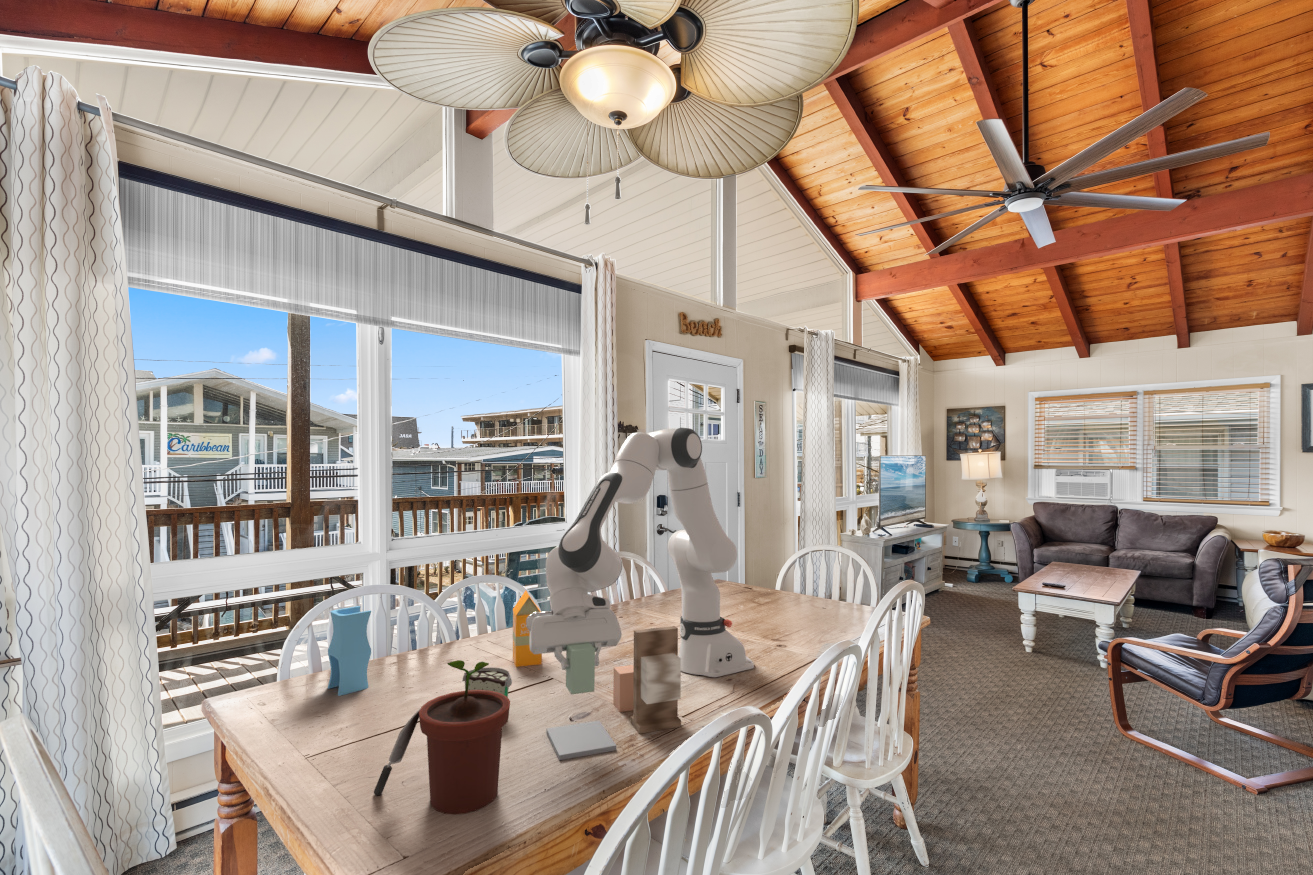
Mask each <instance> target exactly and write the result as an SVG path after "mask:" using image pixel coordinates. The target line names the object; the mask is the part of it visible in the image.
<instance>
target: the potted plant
mask: <svg viewBox="0 0 1313 875" xmlns="http://www.w3.org/2000/svg"><path fill="white" fill-rule="evenodd" d="M489 664H490V663H489V662H485V661H479V662H477V663H476V664H475V666H474V668H473V669H472V670H473V671H472V672H471V673H470V674H469V672H468V671H469V670H468V669H466V668H464V667H465V661H464V660H462V659H460V660H454V661H450V662H447V666H450V667H451V668H454V669H457V670H460V671H463V672H464V673H465V672H466V674H467V680H466V687H465V686H464V690H461V691H454V692H450V693H447V694H446V693H445V694H442V695H440V696H437V697H435V698H432V699H430V700H427V701H426V703H424V704H423V705H422V706H421V707H420V708H419V709H418V710H417V711H416V712H415V713H414V714H413V715H412V716H411V717H410V719H409V720H407V722H406V723H405V725H404V726H403V727H402V729H401V730H400V731H399V733H398V736H397V739H396V741H395V743H394V746H393V748H392V750H391V754H390V755H389V758H388V763H387V764H386V765H384V766H383V768H382V770H381V773H380V775H379V777H378V780H377V783H376V785H375V787H374V790H373V794H374V795H375V796H381V795H382V794H383V793H384V789H385V787H386V785H387V783H388V780H389V777H390V775H391V772H392V771H393V767H392V766H391V765H394V764H398V763H401V761H402V760H403V758H404V756H405V753H406V750H407V749H408V746H409V743H410V742H411V739H412V736H413V734H414V731H415V729H416V727H417V724H418V722H419V727H420V732H421V733H422V734H423V735H425V736H426V749H427V762H428V766H427V767H428V781H429V782H428V784H429V799H430V800H429V801H430V805H431V807H432V808H433V809H434V810H435V811H437V812H440V813H443V814H447V815H462V814H464V815H465V814H467V813H468V814H469V813H472V812H475V811H476V812H477V811H478V810H480V809H483V808H486V807H487V806H488V805H490V804H492V803H493V802H494V800H495V799H496V797H497V796H498V790H499V778H500V777H499V776H500V762H501V752H502V750H501V749H502V738H503V737H502V733H503V728H504V726H505V725H506V724H507V723H508V722H509V716H510V709H511V708H510V707H511V700H510V699H509V696H508V697H507V696H505V695H503V694H501V693H498V692H494V691H488V690H468V685H469V677H470V676H471V675H472V674H473V673H474V672H477V671H478V670H480V669H482V668H486V667H487V666H489Z"/></svg>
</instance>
